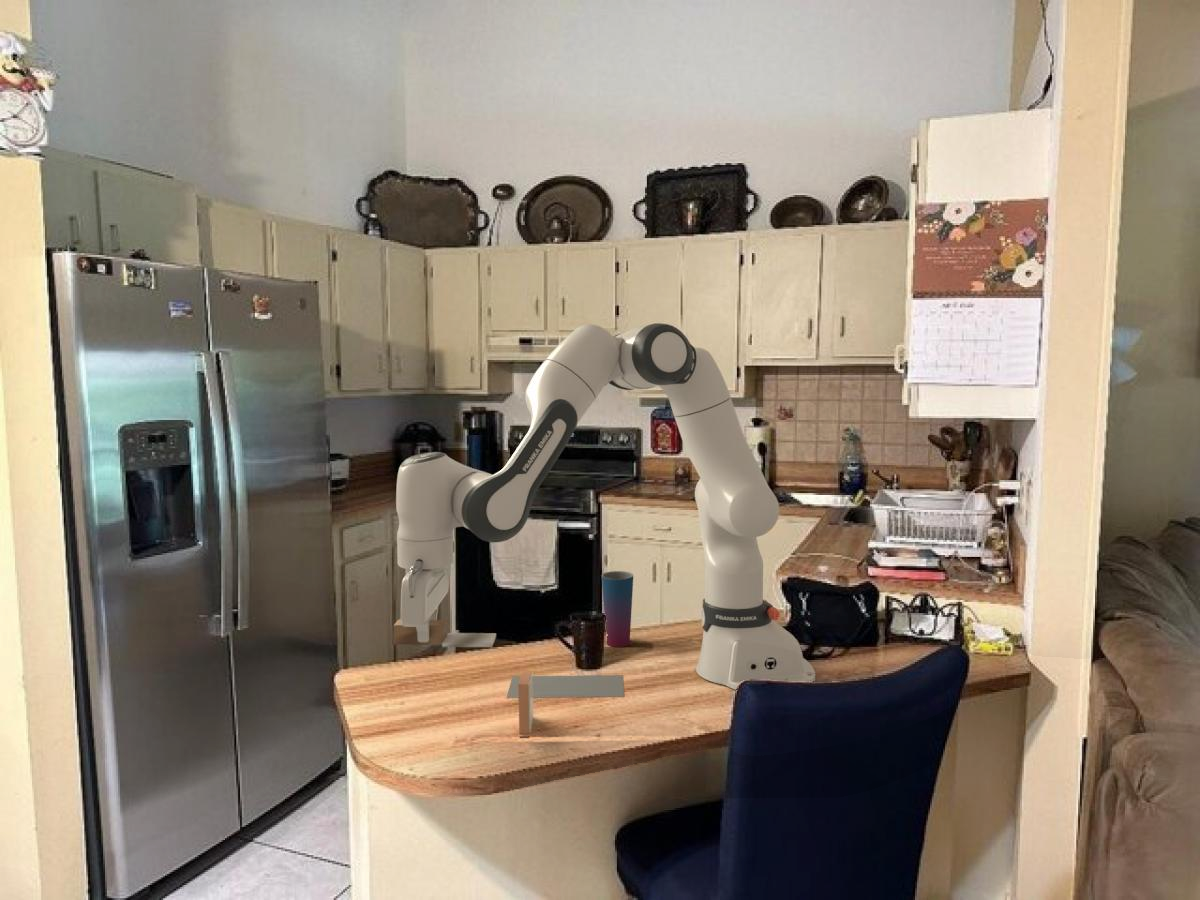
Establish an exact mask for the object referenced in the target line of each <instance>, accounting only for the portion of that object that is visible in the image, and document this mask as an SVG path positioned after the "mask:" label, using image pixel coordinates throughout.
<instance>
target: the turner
mask: <svg viewBox="0 0 1200 900" xmlns="http://www.w3.org/2000/svg"><path fill="white" fill-rule="evenodd" d="M447 622H448V620H447V619H436V620H430V621H429V629H430V635H431V637H430V639H429V641H428V642H418V637H417V629H416V627H405V626H403V625H402V622H401V618H399V619H397V620H396V622H395V623H394V624H393V644H394V645H396V646H397V645H403V646H405V645H407V646H408V645H410V646H412V645H417V646H418V645H423V646H425V645H427V646H428V645H429V646H430V645H432V646H439V645H440V646H441V647H442V648H492V647H493V646H494V643H495V640H496V639H497V633H495V632H494V633H493V632H491V633H490V632H489V633H487V632H485V633H484V632H478V633H477V632H448V623H447Z"/></svg>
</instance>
